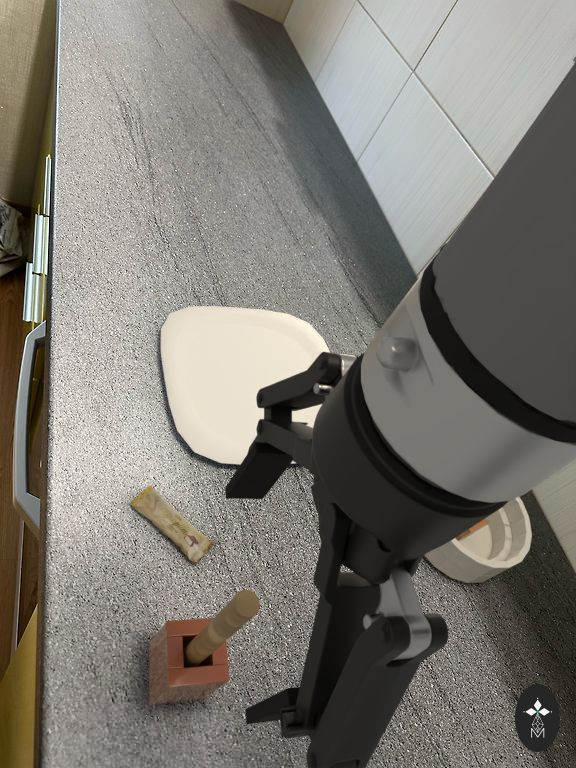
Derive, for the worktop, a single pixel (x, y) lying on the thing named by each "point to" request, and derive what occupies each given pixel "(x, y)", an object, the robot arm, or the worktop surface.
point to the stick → (221, 627)
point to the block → (472, 530)
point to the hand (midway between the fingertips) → (254, 592)
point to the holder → (168, 664)
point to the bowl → (487, 546)
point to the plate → (231, 373)
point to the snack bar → (172, 524)
